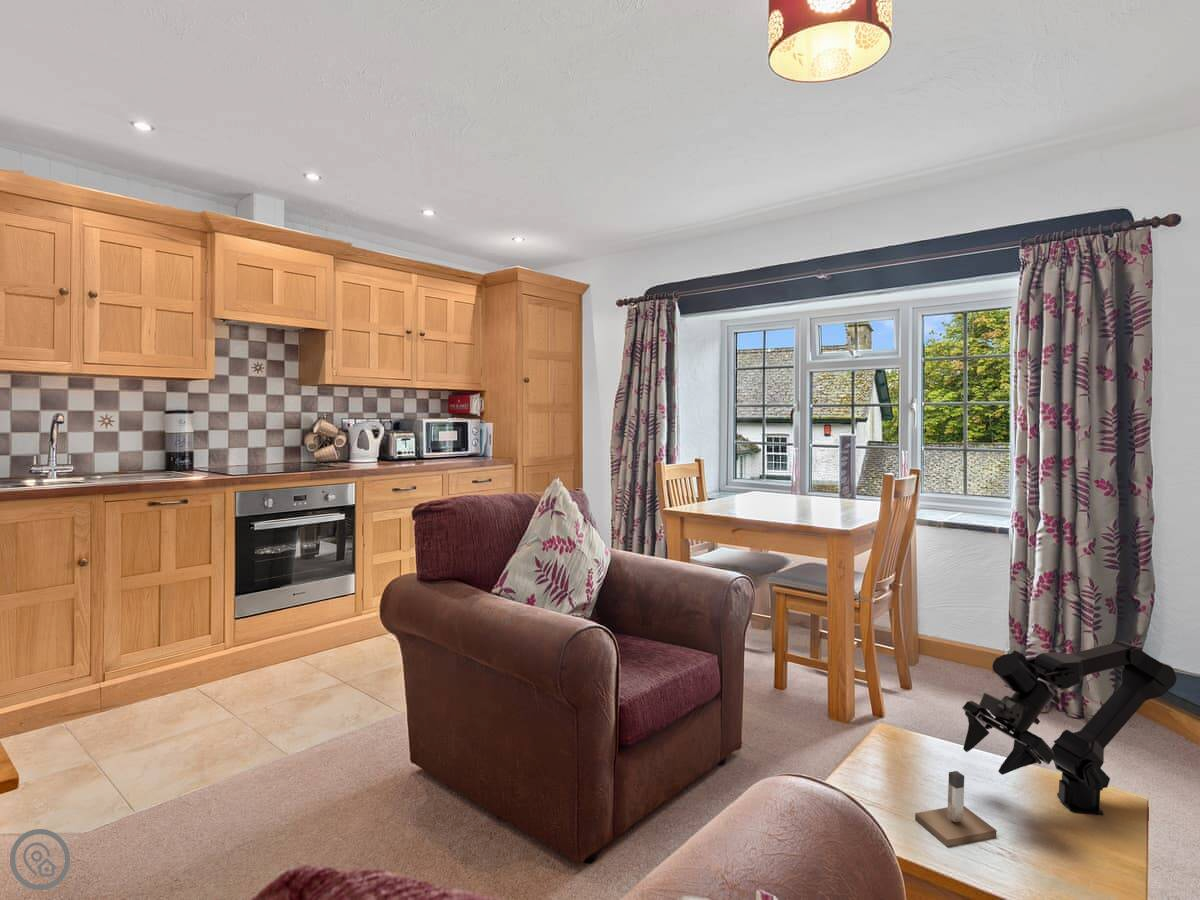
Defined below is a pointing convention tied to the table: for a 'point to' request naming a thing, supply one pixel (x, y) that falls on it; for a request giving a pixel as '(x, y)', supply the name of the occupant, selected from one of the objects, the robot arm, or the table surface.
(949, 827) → the stand
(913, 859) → the table surface
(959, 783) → the arm
